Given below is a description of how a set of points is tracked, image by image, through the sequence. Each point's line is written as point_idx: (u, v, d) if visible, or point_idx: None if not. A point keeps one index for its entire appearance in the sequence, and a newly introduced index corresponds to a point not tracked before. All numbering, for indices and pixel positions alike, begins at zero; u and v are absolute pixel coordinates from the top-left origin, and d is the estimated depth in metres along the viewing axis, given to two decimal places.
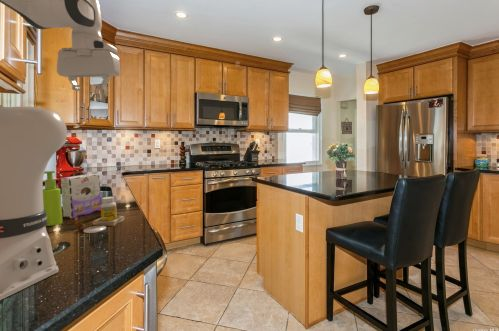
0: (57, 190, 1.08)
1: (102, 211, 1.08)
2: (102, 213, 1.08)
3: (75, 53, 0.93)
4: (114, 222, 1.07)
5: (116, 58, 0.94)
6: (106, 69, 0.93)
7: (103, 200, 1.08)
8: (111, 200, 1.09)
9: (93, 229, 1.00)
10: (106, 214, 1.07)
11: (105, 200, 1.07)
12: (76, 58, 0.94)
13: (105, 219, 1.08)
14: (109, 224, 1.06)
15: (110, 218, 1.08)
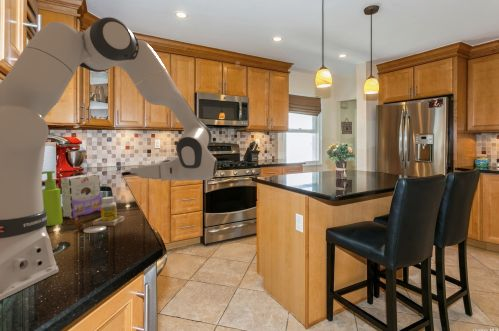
0: (57, 190, 1.08)
1: (102, 211, 1.08)
2: (102, 213, 1.08)
3: None
4: (114, 222, 1.07)
5: (153, 173, 0.97)
6: None
7: (103, 200, 1.08)
8: (111, 200, 1.09)
9: (93, 229, 1.00)
10: (106, 214, 1.07)
11: (105, 200, 1.07)
12: None
13: (105, 219, 1.08)
14: (109, 224, 1.06)
15: (110, 218, 1.08)
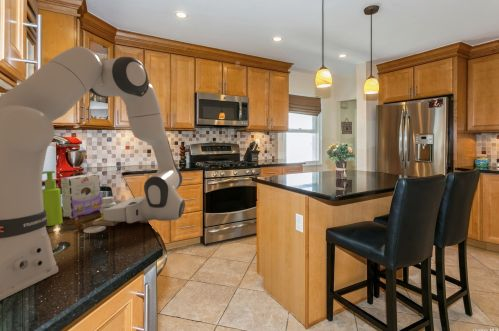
0: (57, 190, 1.08)
1: None
2: (102, 213, 1.08)
3: None
4: (114, 222, 1.07)
5: (118, 216, 1.00)
6: (110, 208, 1.02)
7: (103, 200, 1.08)
8: (111, 200, 1.09)
9: (93, 229, 1.00)
10: None
11: (105, 200, 1.07)
12: None
13: None
14: (109, 224, 1.06)
15: None
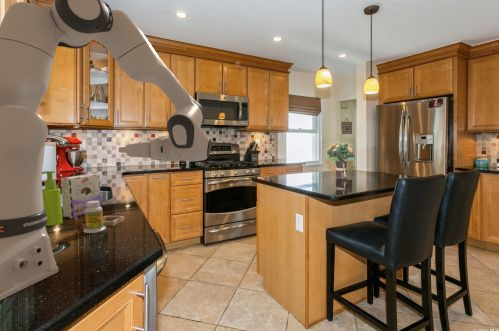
0: (57, 190, 1.08)
1: (86, 216, 0.98)
2: (86, 219, 0.99)
3: None
4: (114, 222, 1.07)
5: (142, 151, 0.91)
6: None
7: (87, 204, 0.99)
8: (96, 204, 0.99)
9: None
10: (90, 219, 0.98)
11: (89, 204, 0.98)
12: None
13: (90, 225, 0.98)
14: (109, 224, 1.06)
15: (95, 224, 0.99)
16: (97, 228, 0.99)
